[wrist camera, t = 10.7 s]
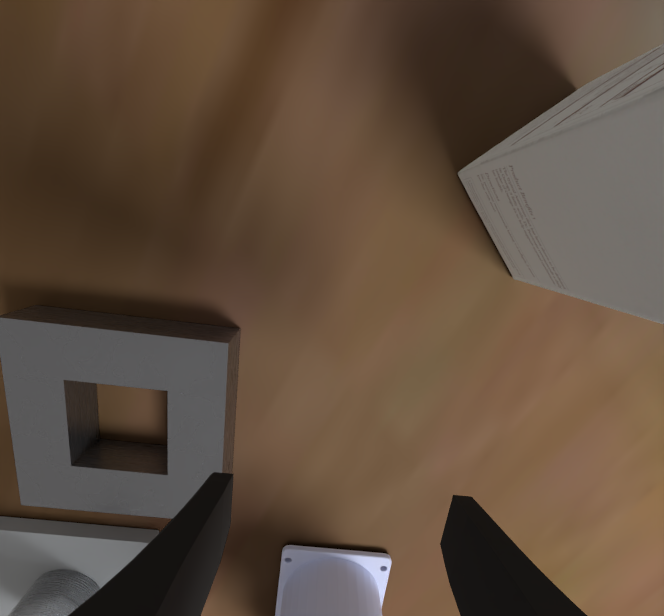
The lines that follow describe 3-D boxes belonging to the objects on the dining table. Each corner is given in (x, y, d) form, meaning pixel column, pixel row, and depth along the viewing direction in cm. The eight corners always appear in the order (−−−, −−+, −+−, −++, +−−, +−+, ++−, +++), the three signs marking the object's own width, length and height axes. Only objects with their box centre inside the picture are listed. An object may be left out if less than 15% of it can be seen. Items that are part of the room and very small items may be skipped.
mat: (159, 646, 27) (153, 662, 26) (7, 635, 26) (-6, 651, 25) (158, 530, 24) (151, 543, 23) (-14, 514, 23) (-29, 527, 22)
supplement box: (630, 210, 19) (1219, 189, 6) (510, 281, 19) (816, 384, 7) (579, 83, 17) (1237, -274, 5) (451, 169, 18) (718, 57, 6)
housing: (231, 491, 23) (219, 522, 21) (54, 474, 23) (21, 505, 20) (240, 328, 20) (228, 343, 18) (36, 305, 20) (-6, 317, 17)
